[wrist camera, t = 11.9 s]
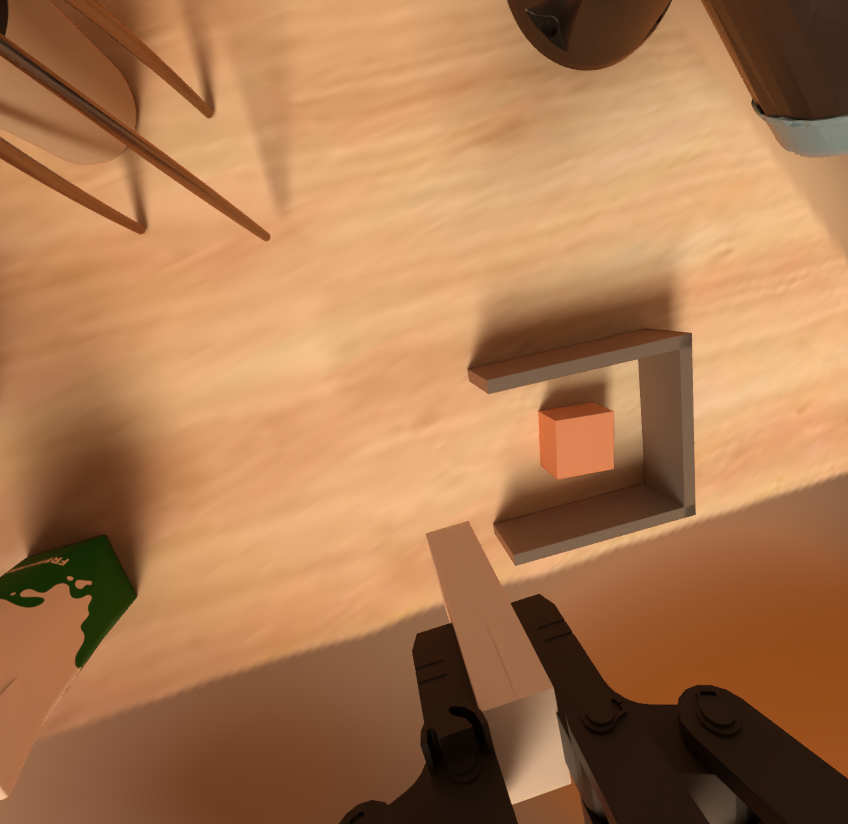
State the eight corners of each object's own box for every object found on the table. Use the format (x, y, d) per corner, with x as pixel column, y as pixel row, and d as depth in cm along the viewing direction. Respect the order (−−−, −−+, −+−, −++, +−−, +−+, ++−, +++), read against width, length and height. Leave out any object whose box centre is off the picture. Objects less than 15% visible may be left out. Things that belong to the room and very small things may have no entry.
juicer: (271, 242, 34) (-1156, -784, 4) (138, 234, 35) (-1698, -603, 5) (279, 111, 33) (-1322, -2170, 4) (143, 108, 35) (-1893, -1618, 5)
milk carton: (57, 630, 42) (-180, 904, 23) (10, 550, 40) (-300, 784, 20) (151, 601, 43) (-3, 842, 24) (111, 521, 40) (-97, 720, 21)
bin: (647, 328, 45) (691, 333, 39) (655, 489, 50) (695, 514, 44) (467, 369, 43) (486, 380, 37) (494, 533, 48) (515, 565, 42)
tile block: (591, 401, 46) (614, 411, 42) (592, 455, 48) (613, 468, 44) (537, 410, 45) (555, 421, 42) (539, 464, 47) (557, 479, 43)
